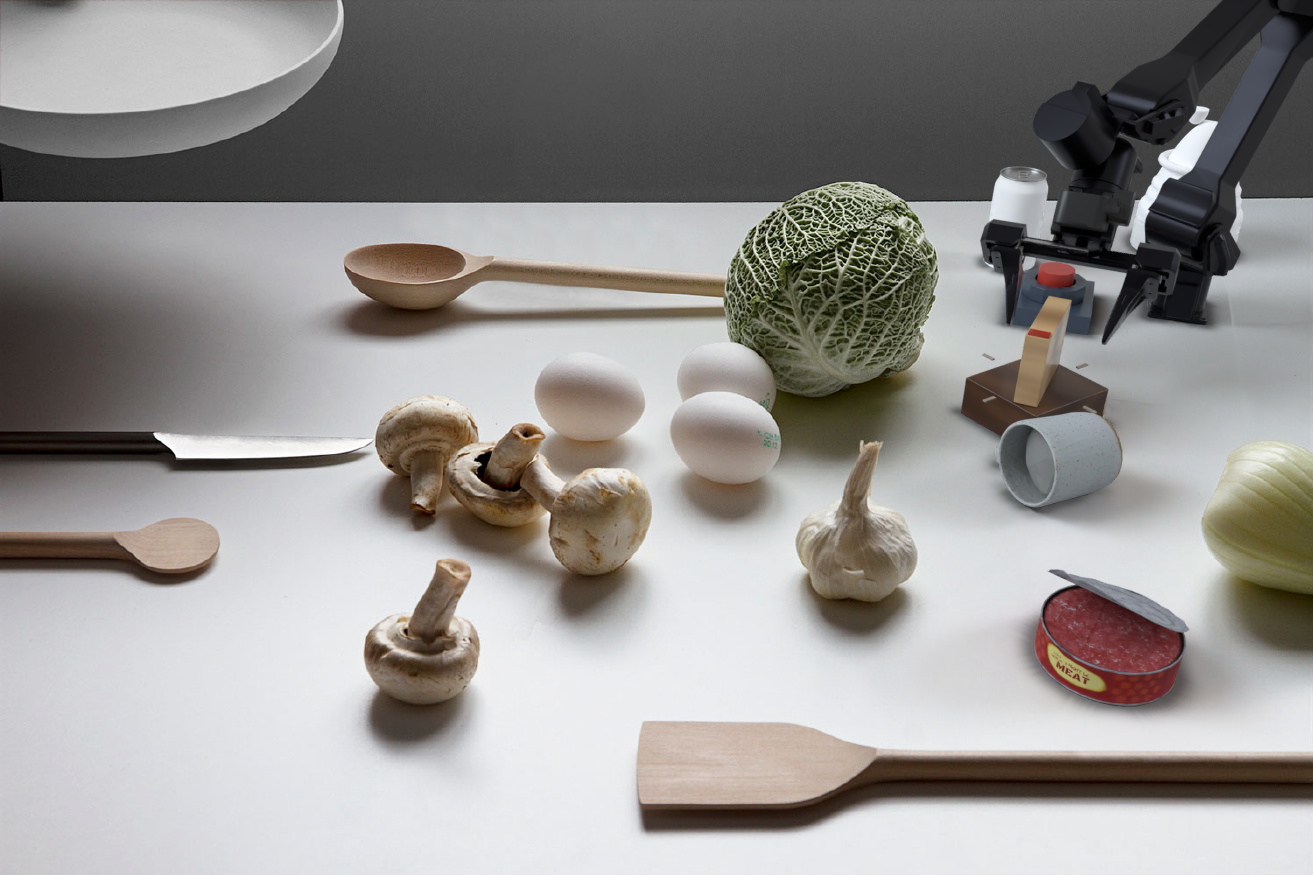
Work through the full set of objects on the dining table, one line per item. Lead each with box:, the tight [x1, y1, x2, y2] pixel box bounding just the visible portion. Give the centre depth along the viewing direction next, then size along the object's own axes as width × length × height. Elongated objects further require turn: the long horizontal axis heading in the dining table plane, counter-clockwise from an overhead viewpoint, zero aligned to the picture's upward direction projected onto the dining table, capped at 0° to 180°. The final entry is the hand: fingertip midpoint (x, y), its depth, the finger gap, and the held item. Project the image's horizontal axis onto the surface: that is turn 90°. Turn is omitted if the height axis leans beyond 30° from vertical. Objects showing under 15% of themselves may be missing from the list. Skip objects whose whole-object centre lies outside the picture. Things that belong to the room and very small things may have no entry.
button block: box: [1005, 268, 1096, 336], centre depth 133 cm, size 11×9×4 cm
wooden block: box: [960, 352, 1109, 437], centre depth 111 cm, size 14×14×4 cm
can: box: [983, 166, 1049, 273], centre depth 143 cm, size 6×6×12 cm
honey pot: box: [1129, 105, 1244, 251], centre depth 146 cm, size 13×13×18 cm
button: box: [1037, 261, 1077, 288], centre depth 132 cm, size 4×4×2 cm
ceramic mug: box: [994, 412, 1124, 508], centre depth 100 cm, size 11×8×8 cm
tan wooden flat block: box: [1014, 296, 1072, 407], centre depth 108 cm, size 10×2×7 cm, turn 152°
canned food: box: [1033, 568, 1190, 707], centre depth 81 cm, size 11×10×10 cm
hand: (1055, 334), depth 112 cm, fingers open, 9 cm apart
